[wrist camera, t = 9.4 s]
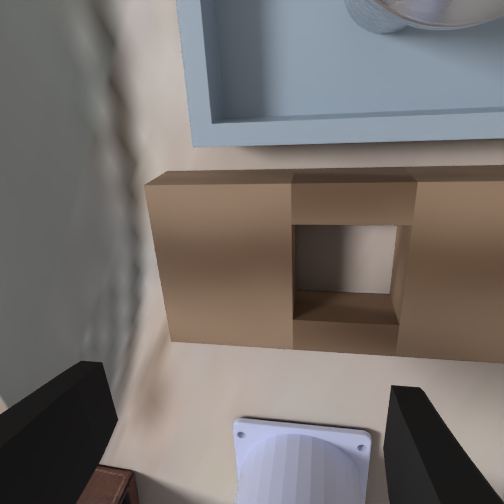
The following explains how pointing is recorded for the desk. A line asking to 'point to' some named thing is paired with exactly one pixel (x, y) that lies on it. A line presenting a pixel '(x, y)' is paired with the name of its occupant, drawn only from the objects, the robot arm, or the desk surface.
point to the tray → (334, 76)
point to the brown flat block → (333, 303)
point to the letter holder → (110, 487)
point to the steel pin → (422, 14)
